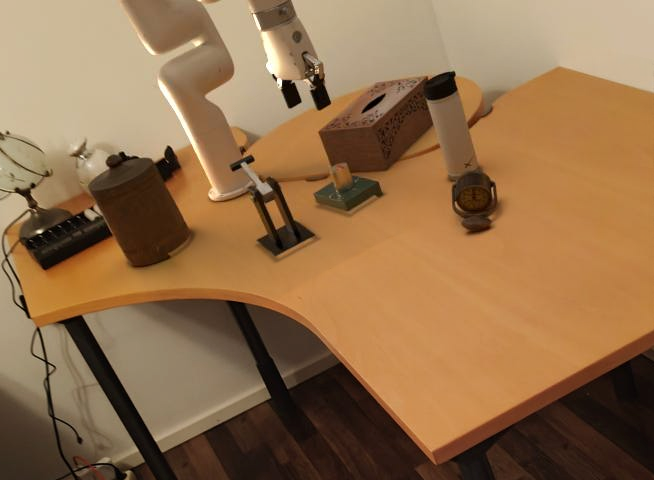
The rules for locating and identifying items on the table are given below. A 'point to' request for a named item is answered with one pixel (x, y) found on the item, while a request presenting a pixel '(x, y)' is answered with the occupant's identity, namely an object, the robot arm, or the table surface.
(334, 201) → the dial panel
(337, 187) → the knob
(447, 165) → the travel mug
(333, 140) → the tissue box cover
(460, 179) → the vintage desk clock
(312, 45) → the robot arm
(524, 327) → the table surface
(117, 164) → the wooden container
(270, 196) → the press lever
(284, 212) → the black lever stand
